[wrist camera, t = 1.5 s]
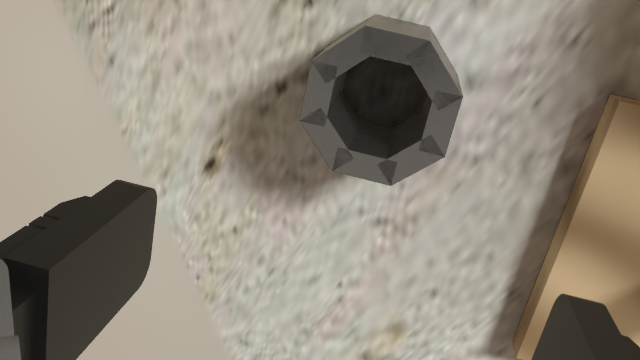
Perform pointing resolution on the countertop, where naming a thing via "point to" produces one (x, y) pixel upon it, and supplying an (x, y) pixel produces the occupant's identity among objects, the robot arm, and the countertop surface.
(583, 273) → the shaft stand
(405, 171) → the ring
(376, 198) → the countertop surface
